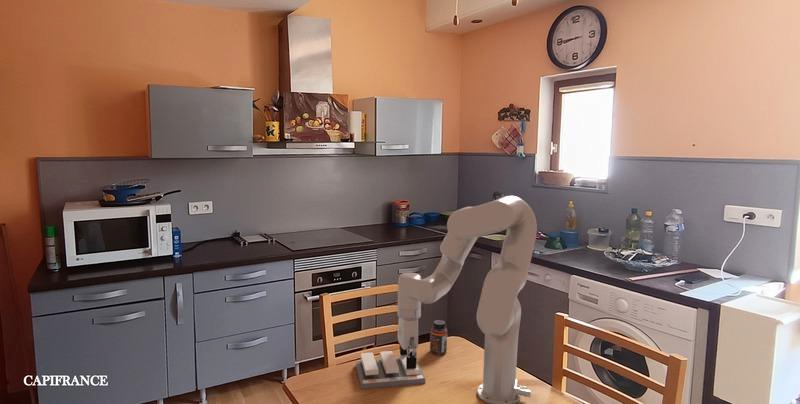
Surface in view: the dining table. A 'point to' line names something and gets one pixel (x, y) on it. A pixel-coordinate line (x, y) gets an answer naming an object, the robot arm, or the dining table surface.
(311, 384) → the dining table surface
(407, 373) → the switch
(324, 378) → the dining table surface
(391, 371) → the middle switch
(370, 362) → the switch
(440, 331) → the supplement bottle
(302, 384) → the dining table surface
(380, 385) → the switch board
